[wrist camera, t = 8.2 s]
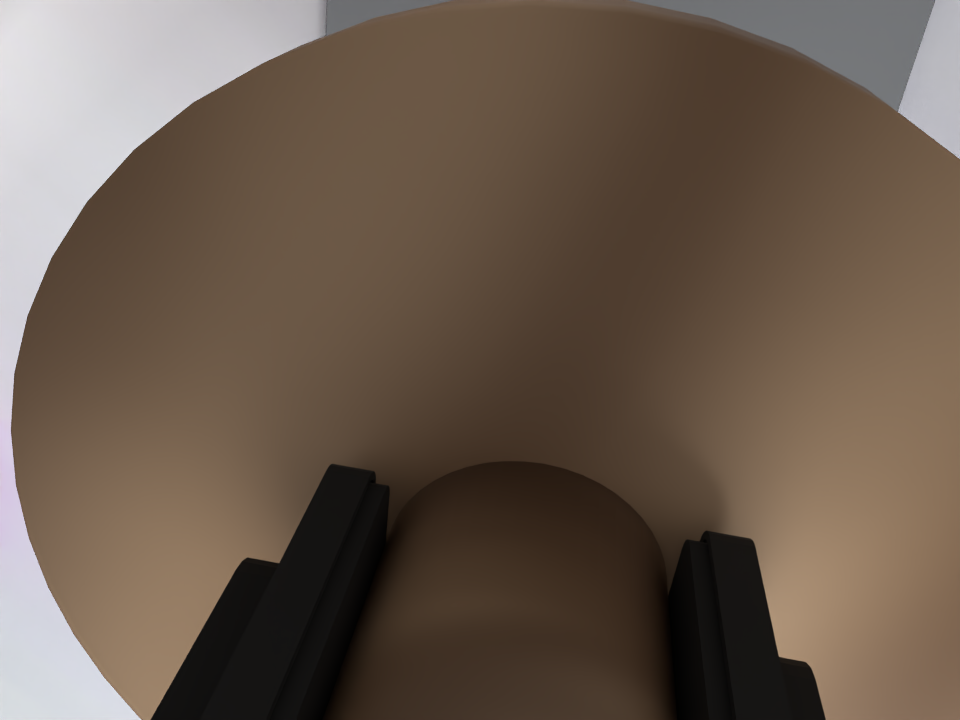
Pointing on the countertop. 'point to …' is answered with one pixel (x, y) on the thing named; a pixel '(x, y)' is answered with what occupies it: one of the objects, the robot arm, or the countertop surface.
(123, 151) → the countertop surface
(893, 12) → the mat
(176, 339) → the lid
